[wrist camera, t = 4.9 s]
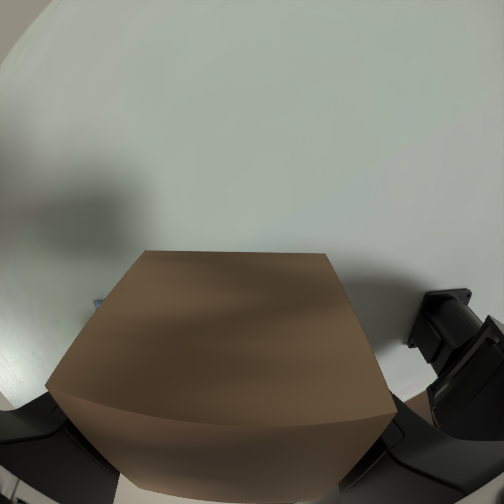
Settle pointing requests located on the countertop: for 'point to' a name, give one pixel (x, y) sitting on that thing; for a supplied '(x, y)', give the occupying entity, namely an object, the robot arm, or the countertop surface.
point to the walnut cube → (226, 377)
